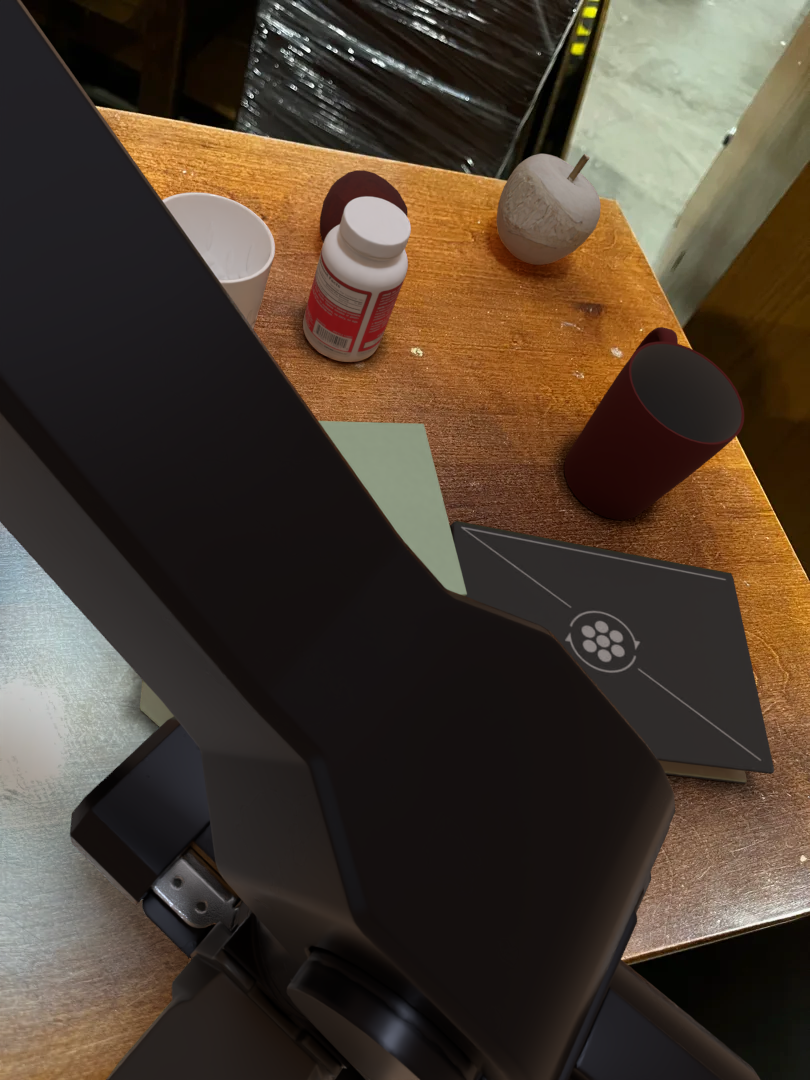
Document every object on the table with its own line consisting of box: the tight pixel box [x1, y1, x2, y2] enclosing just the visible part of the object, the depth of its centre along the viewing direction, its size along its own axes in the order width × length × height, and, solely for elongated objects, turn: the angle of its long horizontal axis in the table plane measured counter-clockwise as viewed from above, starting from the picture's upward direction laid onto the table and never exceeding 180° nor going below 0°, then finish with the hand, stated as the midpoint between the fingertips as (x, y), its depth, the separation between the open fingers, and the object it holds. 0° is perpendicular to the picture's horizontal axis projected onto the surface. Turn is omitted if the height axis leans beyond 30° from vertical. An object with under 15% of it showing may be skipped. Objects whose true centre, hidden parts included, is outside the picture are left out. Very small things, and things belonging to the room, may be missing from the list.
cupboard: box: [318, 420, 467, 596], centre depth 46 cm, size 11×16×11 cm
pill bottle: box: [302, 197, 412, 363], centre depth 58 cm, size 6×6×11 cm
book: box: [449, 520, 775, 785], centre depth 54 cm, size 22×15×3 cm
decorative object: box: [496, 153, 602, 266], centre depth 71 cm, size 9×9×10 cm
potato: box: [319, 169, 408, 244], centre depth 66 cm, size 7×8×6 cm
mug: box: [563, 326, 745, 521], centre depth 60 cm, size 12×9×11 cm
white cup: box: [162, 191, 276, 329], centre depth 54 cm, size 8×8×10 cm
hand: (271, 954), depth 36 cm, fingers open, 4 cm apart
